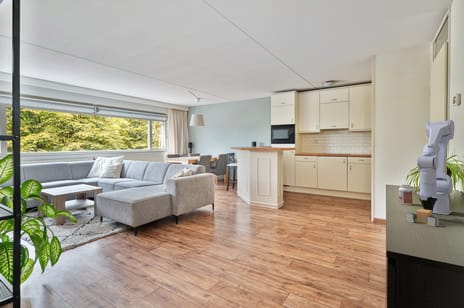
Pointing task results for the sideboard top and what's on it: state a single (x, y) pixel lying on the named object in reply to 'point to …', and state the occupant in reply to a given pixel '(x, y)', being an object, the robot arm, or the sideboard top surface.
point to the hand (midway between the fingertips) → (428, 214)
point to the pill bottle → (405, 194)
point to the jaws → (430, 220)
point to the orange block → (422, 215)
